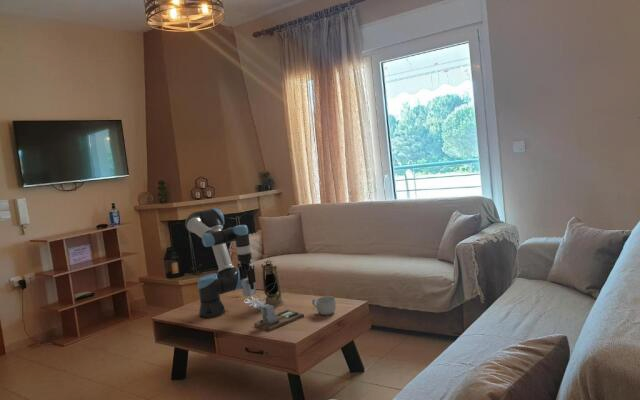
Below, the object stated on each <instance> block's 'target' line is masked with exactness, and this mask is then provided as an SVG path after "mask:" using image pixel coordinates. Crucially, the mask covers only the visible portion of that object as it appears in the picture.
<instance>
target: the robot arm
mask: <svg viewBox="0 0 640 400" xmlns="http://www.w3.org/2000/svg"><path fill="white" fill-rule="evenodd" d="M184 225H185V229H186V230H187V231H189V232H190V233H192V234H195V235H197V236H198V237H199V238H201V243H202V244H203V247H205V248H208V247H209V248H210V247H211V248H212V251H213V254H214V257H215V262H216V264H217V266H218V267H217V268H218V270H217V273H216V272H215V273H214V272H213V273H212V272H211V273H208V274H204V275H202V276H201V277H199V278H198V279H197V288H198V289H197V290H198V294H199V295H198V296H199V300H200V305H199V310H198V311H199V312H198V313H199V314H198V315H199V318H201V319H213V318H216V317H220V316H222V315H224V314H225V312H226V309H225V306H224V304H223V302H222V300H221V295H222V294H223V295H224V294H226V293H230V292H235V291H237V290H240V289H241V288H242V281H241V280H242V279H245V278H248V280H249V283H248V285H249V292H250V295H251V296H253V295H256V294H255V292H254V284H253V283H254V282H255V283H256V282H257V281H256V274H255V273H256V272H255V264H252V263H251V262H252V261H251V260H253V258H252V257H253V256H252V252H251V250H252V249H251V243H250V237H249V235H250V234H249V229H248V226H247V225H246V224H240V225H235V226H233V227H228V228H226V229H223V228H224V225H225V216H224V214H223V212H222V210H220V209H219V208H210V209H205V210H199V211H195V212H192V213H190V214H189V215H188V216H187V217H186V219H185V224H184ZM233 242H235V247H236V254H237V260H238V262H239V263H237V267H236V266H235V265H233V262H232V260H231V255H230V253H229V250H228V246H227V243H233ZM237 268H238V269H237Z"/></svg>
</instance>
